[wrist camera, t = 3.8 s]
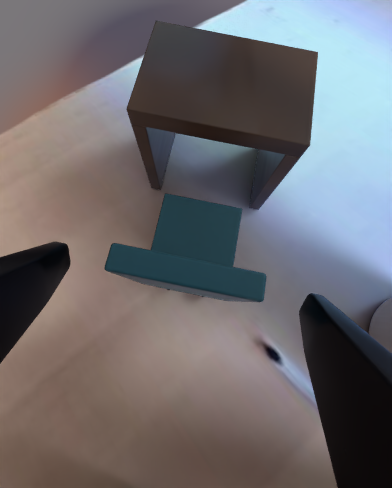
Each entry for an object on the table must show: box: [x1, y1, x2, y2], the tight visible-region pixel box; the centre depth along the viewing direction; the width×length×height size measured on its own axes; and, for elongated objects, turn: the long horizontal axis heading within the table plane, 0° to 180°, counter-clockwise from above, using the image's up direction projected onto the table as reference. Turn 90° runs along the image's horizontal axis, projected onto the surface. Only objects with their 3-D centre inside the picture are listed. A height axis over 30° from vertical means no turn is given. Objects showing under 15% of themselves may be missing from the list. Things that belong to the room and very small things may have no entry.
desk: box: [127, 21, 318, 210], centre depth 15 cm, size 6×9×8 cm, turn 79°
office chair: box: [105, 194, 266, 302], centre depth 12 cm, size 5×6×11 cm
